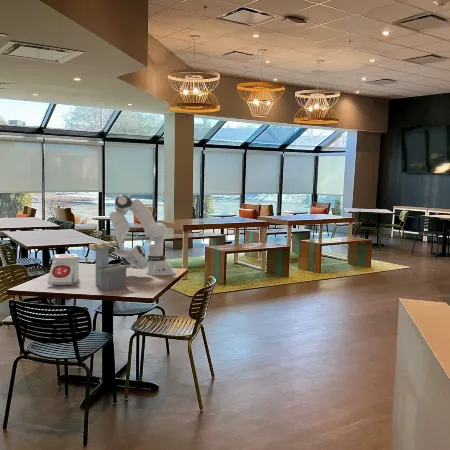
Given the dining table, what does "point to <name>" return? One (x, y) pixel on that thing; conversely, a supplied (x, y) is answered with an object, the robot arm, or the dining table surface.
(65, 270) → the white box
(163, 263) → the robot arm
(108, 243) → the block
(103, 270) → the box with lid
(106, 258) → the plinth
